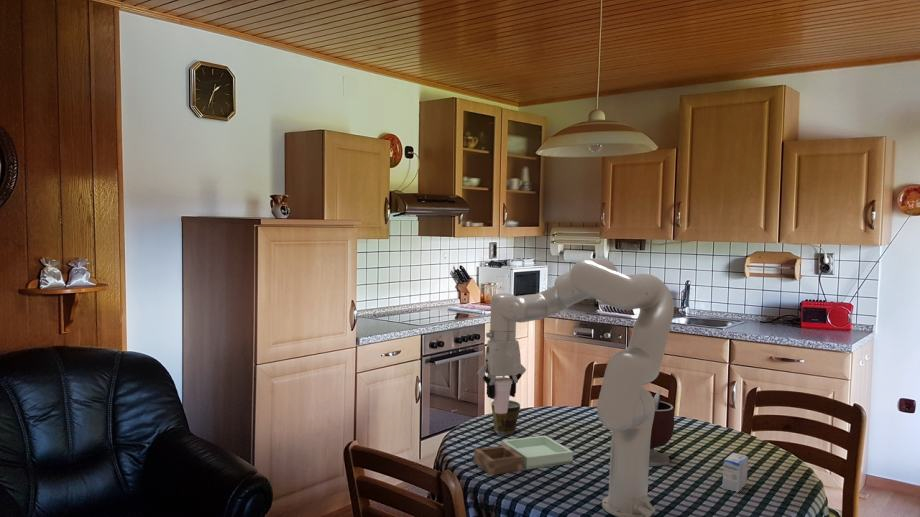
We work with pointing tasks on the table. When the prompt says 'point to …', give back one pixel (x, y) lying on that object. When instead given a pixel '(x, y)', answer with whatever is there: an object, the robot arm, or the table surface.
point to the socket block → (498, 460)
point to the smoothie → (501, 394)
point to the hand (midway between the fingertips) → (501, 396)
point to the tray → (540, 451)
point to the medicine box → (735, 472)
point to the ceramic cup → (506, 419)
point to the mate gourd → (661, 431)
